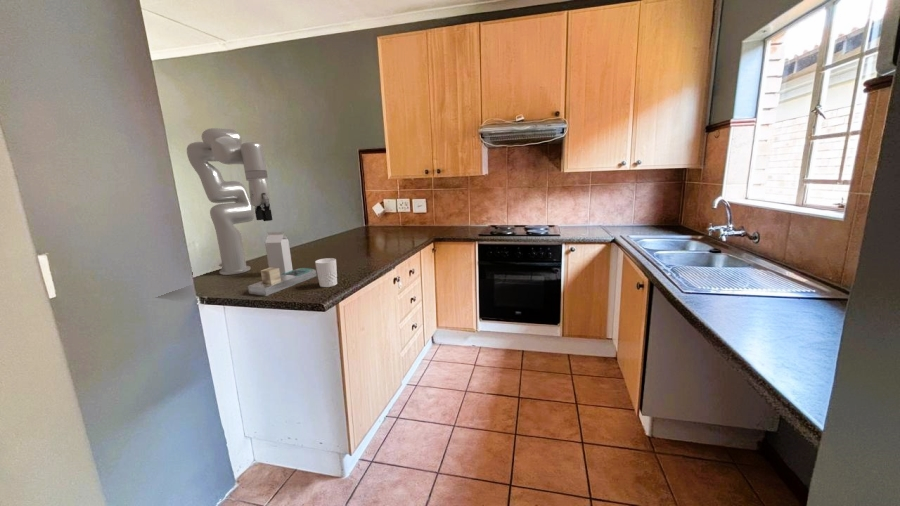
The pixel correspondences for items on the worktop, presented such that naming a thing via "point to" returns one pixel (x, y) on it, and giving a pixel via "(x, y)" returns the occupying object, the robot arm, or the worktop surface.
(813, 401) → the worktop surface
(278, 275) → the maple block
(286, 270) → the milk carton
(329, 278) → the white cup
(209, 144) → the robot arm
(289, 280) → the white flat bar
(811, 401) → the worktop surface
